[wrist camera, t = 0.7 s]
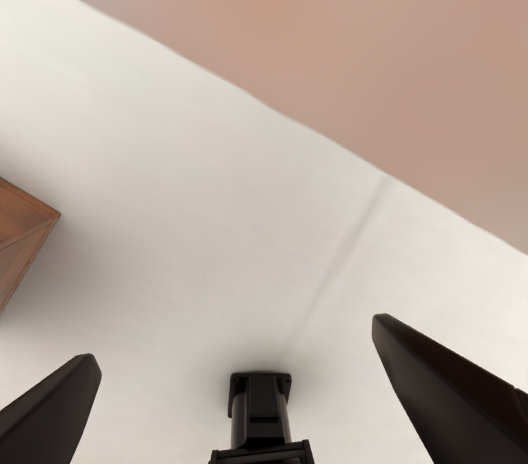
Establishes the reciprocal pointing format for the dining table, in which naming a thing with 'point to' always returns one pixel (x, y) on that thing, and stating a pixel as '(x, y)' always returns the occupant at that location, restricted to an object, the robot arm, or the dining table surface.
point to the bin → (20, 235)
